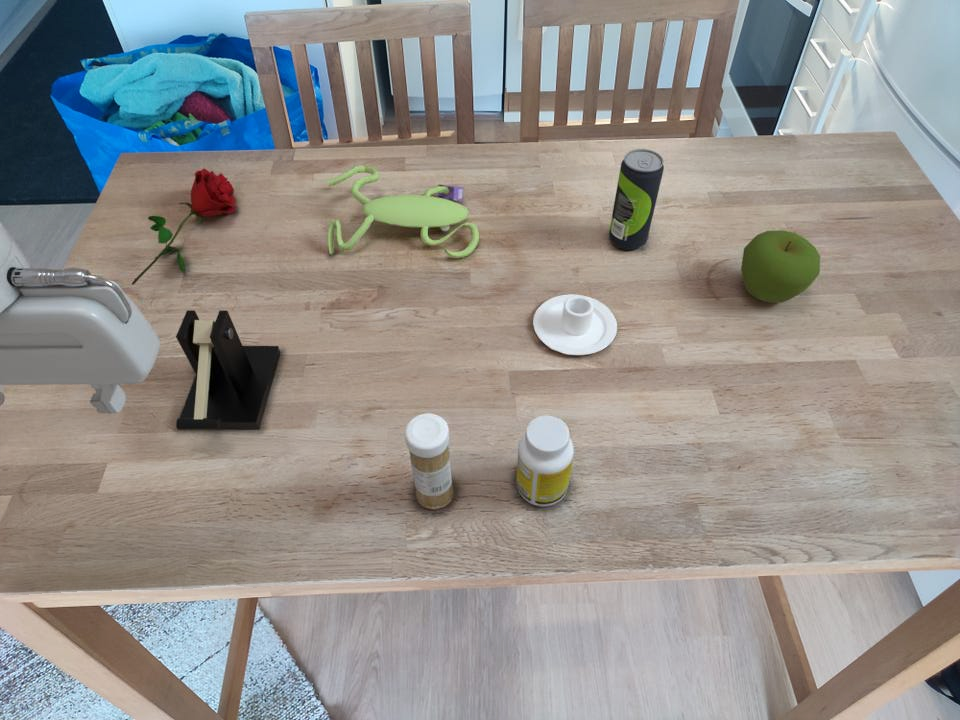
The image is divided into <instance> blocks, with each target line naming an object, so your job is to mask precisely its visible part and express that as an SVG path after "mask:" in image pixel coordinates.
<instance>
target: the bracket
mask: <svg viewBox="0 0 960 720" xmlns="http://www.w3.org/2000/svg"><path fill="white" fill-rule="evenodd" d="M195 320H200V318H199V316H198V314H197V311H196V310H191V309H189V310H186V312H185V314H184V317H183V319H182V321H181V324H180V326H179V328H178V331H177V332H176V335H175V338H176V340H177V342H178V344H179V345H180V348H181V349H182V351H183V353H184V356H185V357H186V358H187V361H188V363H189V365H190V366H191V368H192V370H193V372H194V373H195V376H194V378H193V380H192V383H191V387H190V389H189V392H188V395H187V397H186V400H185V402H184V405H183V407H182V410H181V413H180V416H179V418H194V410H195V398H196V386H197V374H198V361H199V349H200V346H199V345H197V344H195V343H193V334H194V322H195ZM214 321H215V324H214V327H213V329H212V332H211V334H210V339H211V341H212V343H213V345H214V347H212V352H211V365H210V378H209V390H208V403H207V416H206V418H221V419H222V421H223V426H222V429H221V430H260V427H261V424H262V421H263V417H264V414H265V411H266V406H267V403H268V399H269V396H270V392H271V389H272V384H273V382H274V378H275V374H276V371H277V368H278V364H279V361H280V356H281V350H280V347H279V346H278V345H243V344H242V341H241V339H240V337H239V334H238V332H237V330H236V327H235V325H234V322H233V320H232V318H231V316H230V313H229V310H219V311H218V314H217V315H216V319H215V320H214Z"/></svg>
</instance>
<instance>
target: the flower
mask: <svg viewBox="0 0 960 720" xmlns="http://www.w3.org/2000/svg"><path fill="white" fill-rule="evenodd" d="M234 193H235V188H234V186H233V184H231V182H230V180H228V178H227V177H225V175H224V174H223V173H219V174H218V175H216V173H215V172H214V170H211V171H209V170H208V169H207V168H202V169H201V170H196V171H195V173H194V180H193V183H192V187H191V190H190V202H179V203H178V205H186V206H188V207H189V209H190V213H189V214H188V215H187V216H186V217H185V218H184V219H183V221H181V223H180V224H179V226H178V228H177V230H176V232H175V233H174V234H173V232H172V231H171V229H169V228H168V227H165V225H166V223H167V220H166V218H165V217H163V216H160V215H150V216H148V218H147V220H149V221H152V222H153V225H151V227H150V229H151V230H152V231H154V232H157V233H158V234H157V243H158V244H165V247H164V248H163V249H162V250H161V252H159V254H157V256H155V257H154V259H153V261H151V263H150V264H149V265H147V267H145V269H143V271H142V272H140V273H139V275H138V276H137V277H135V278H134V280H133V281H132V283H131V285H132V286H133V285H135V284H136V283H137V282H138V280H140V279H141V278H142V277H143V276H144V274H146V272H147V271H148V270H150V268H152V266H153V265H154V264H155V263H157V261H158V260H159V259H160V258H161V257H162V256H165V255H167V254H169V253H170V252H172V251H174V250H176V251H177V254H176V260H177V264H178V267H179V269H180V271H181V272H182V273H183V274H185V273H186V264H185V261H184V259H183V257H182V255H181V254H180V252H179V251H180V250H181V247H174V246H172V244H173V243H174V241H175V239H176V238H177V236H178V234H179V233H180V231H181V229H182V228H183V226H184V224H185V223H186V222H187V220H188V219H190V217H191V216H192V215H193V216H195V217H196V225H197V227H198V226H199V223H200V222H201V221H202V218H201V216H202V217H203V216H204V217H211V216H217V215H221V214H229V215H231V213H235V212H236V208H235V207H237V203H236V200H235V197H234Z"/></svg>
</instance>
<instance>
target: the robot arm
mask: <svg viewBox="0 0 960 720" xmlns="http://www.w3.org/2000/svg"><path fill="white" fill-rule="evenodd" d="M160 350H161V340H160V338H159V336H158V334H157V331H155V329H154V328H153V327H152V325H151V324H150V322H149V321H148V319H147V318H146V317H145V315H144V314H143V313H142V311H141V310H140V309H139V307H137V306H136V304H135V303H134V302H133V301H132V299H131V298H130V297H129V296H128V295H127V294H126V293H125V292H124V290H123V289H122V287H121V286H120V285H119V284H118V283H117V282H115V281H113V280H108V279H106V278H104V277H102V276H98V275H95V274H91V271H89V270H88V269H84V268H79V267H67V268H63V269H52V268H51V269H49V268H40V267H39V268H38V267H36V268H35V267H34V268H33V267H32V268H31V266H30V262H29V260H28V258H27V257H26V255H25V254H24V252H23V251H22V249H21V248H20V247H19V245H18V244H17V242H16V241H15V240H14V238H13V236H11V234H10V233H9V231H8V229H7V228H6V227H5V225H4V224H3V222H2V221H1V220H0V386H18V385H19V386H21V385H23V386H24V385H25V386H31V385H32V386H33V385H34V386H35V385H36V386H37V385H39V386H41V385H45V386H46V385H48V386H49V385H52V386H53V385H90V386H91V387H92V388H93V389H95V392H94V393H93V394H92V396H91V397H90V400H89V403H90V404H91V406H92V407H93V408H95V409H96V412H97V413H99V414H120V413H121V412H122V410H123V408H124V405H125V403H126V401H127V400H126V399H127V396H126V393H125V391H124V390H123V389H122V387H121V386H120V385H139V384H142V383H143V382H144V381H145V380H146V378H147V377H148V375H149V374H150V373H151V371H152V370H153V367H154V366H155V363H156V361H157V358H158V356H159V353H160ZM4 402H5V395H4V393H3V392H2V391H0V407H1V406H2V405H3V404H4Z"/></svg>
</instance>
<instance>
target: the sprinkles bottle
mask: <svg viewBox="0 0 960 720" xmlns="http://www.w3.org/2000/svg"><path fill="white" fill-rule="evenodd" d="M404 438H405V444H406V447H407V449H408V452H409V460H410V465H411V471H412V477H413V483H414V486H415V496H416V500H417V502H418V503H419V504H420V506H421V507H423V508H425V509H428V510H432V511H433V510H434V511H436V510H441V509H443V508H445V507H447V506H448V505H449V504H450V503H451V502H452V500H453V498H454V494H455V489H454V485H453V472H452V462H451V453H450V447H449V446H450V445H449V444H450V440H451V439H450V428H449V425H448V423H447V421H446V420H445V419H444V418H443V417H441V416H440V415H438V414H435V413H428V412H427V413H426V412H425V413H420V414H418V415H415V416H414V417H413V418H411V419H410V420H409V422H408V423H407V425H406V426H405V430H404Z"/></svg>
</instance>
